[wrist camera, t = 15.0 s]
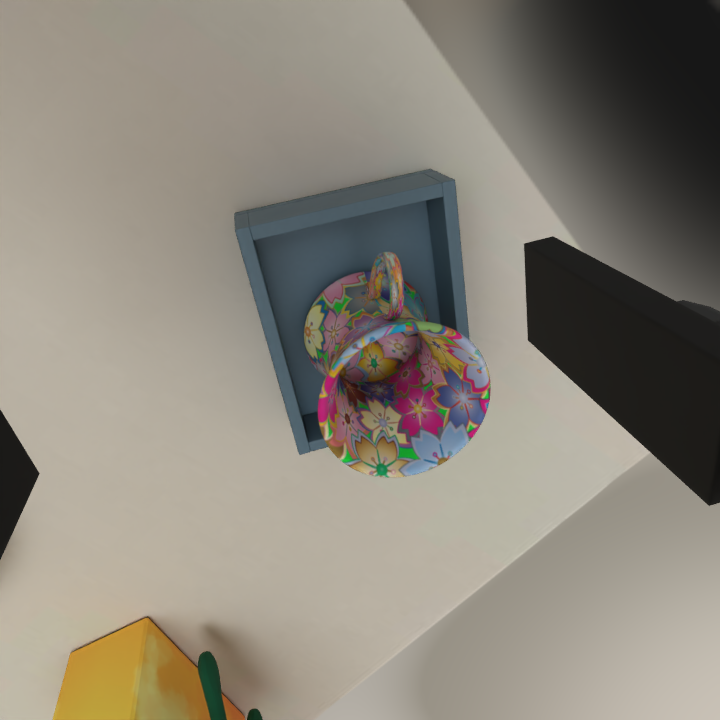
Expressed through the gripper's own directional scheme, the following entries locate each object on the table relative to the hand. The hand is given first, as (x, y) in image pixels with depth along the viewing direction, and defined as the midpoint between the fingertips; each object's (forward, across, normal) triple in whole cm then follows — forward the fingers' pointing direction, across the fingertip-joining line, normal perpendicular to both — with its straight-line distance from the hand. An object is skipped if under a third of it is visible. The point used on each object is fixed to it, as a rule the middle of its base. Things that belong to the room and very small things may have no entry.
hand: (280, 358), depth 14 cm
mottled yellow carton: (+22, -17, -40) cm, 49 cm away
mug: (+22, +5, -9) cm, 25 cm away
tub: (+23, +5, -9) cm, 25 cm away
